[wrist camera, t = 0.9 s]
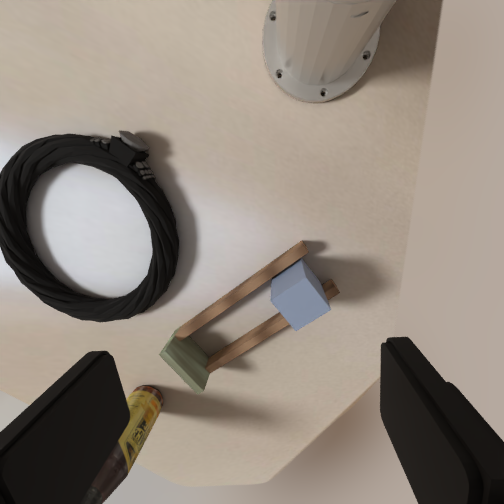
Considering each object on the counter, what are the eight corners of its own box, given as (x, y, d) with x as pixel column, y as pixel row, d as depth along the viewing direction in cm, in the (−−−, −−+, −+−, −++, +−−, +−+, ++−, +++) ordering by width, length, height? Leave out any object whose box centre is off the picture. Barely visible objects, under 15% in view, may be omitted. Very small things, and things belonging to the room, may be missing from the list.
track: (301, 240, 36) (306, 252, 30) (335, 285, 37) (346, 305, 31) (175, 330, 42) (158, 354, 36) (208, 365, 43) (197, 394, 38)
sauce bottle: (163, 413, 48) (87, 570, 29) (131, 405, 48) (34, 556, 29) (167, 386, 46) (88, 536, 27) (133, 378, 46) (31, 520, 27)
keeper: (300, 255, 36) (305, 277, 29) (320, 282, 37) (331, 309, 30) (272, 275, 38) (270, 300, 30) (292, 300, 38) (295, 331, 31)
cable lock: (-39, 258, 38) (24, 61, 29) (-11, 251, 42) (52, 73, 33) (119, 358, 41) (221, 203, 32) (133, 343, 44) (227, 200, 35)
